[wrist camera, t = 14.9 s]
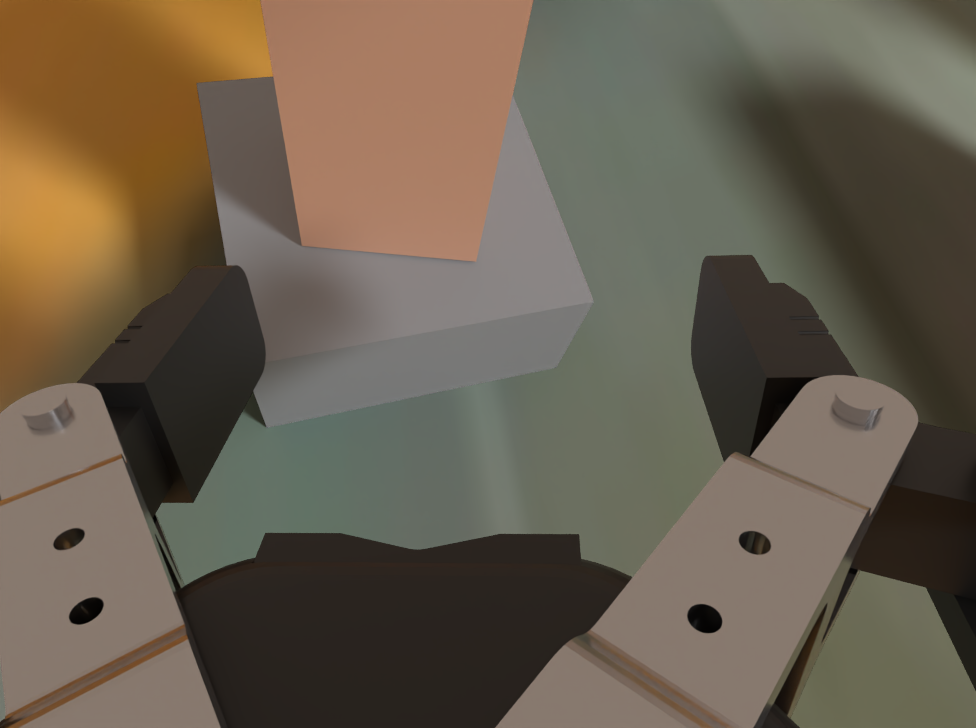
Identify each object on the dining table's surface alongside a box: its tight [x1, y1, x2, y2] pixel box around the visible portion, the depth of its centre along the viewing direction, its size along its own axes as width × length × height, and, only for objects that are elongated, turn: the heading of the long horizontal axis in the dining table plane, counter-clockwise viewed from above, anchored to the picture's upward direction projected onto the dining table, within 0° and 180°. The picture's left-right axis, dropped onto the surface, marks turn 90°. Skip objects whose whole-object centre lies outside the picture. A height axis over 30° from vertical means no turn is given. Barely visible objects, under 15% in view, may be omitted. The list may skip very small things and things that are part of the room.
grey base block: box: [197, 77, 594, 428], centre depth 24 cm, size 10×10×5 cm
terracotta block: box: [260, 0, 533, 262], centre depth 17 cm, size 5×5×10 cm
